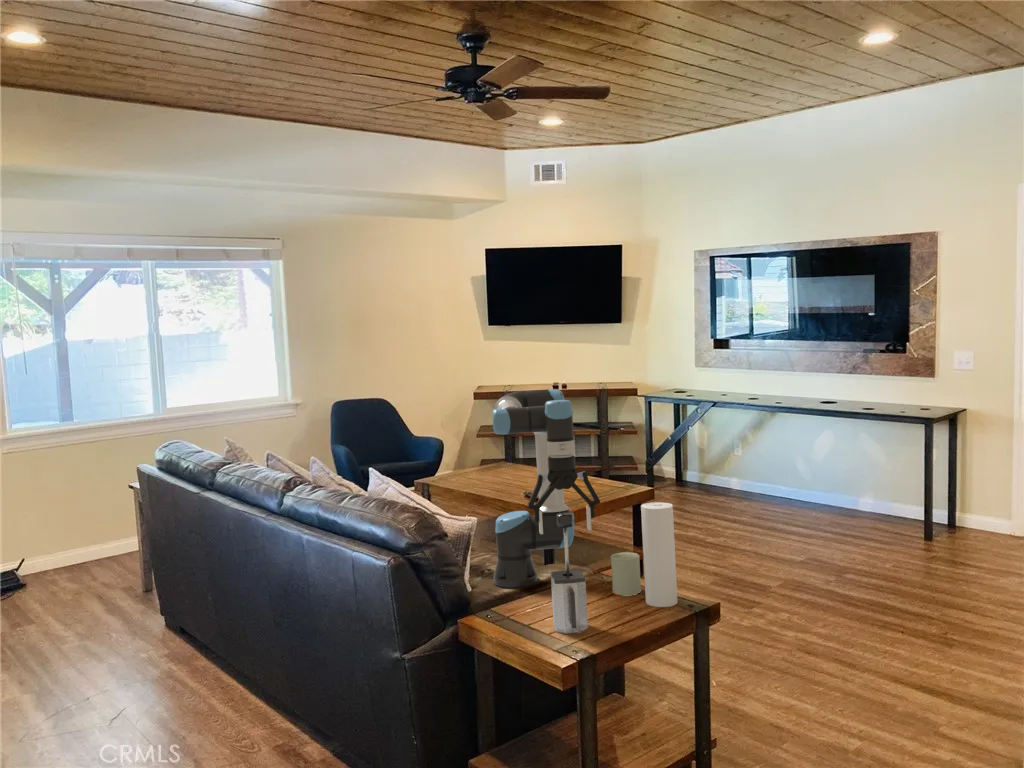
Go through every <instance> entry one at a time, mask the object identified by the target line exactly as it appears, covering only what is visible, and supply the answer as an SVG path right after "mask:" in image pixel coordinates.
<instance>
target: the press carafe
mask: <svg viewBox="0 0 1024 768" xmlns="http://www.w3.org/2000/svg"><path fill="white" fill-rule="evenodd" d="M569 573H570V576H566V570H556V571H551V572H550V574H551V578H550V583H551V585H550V586H551V602H552V606H551V607H552V620H553V621H552V622H553V630H554V632H557V633H560V634H563V635H573V634H575V635H576V634H581V633H583V632H586V630H588V629H589V625H588V624H589V623H588V606H587V605H588V604H587V603H588V601H587V585H586V577H585V576H584V574H583V571H582V570H581V569H569Z"/></svg>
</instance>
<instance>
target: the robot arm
mask: <svg viewBox="0 0 1024 768" xmlns="http://www.w3.org/2000/svg"><path fill="white" fill-rule="evenodd" d="M572 404H573V403H572V402H571V400H569V399H565V396H564V393H563V391H561V390H560V389H555V388H554V389H553V388H552V389H551V388H550V389H549V388H547V389H536V390H534V389H533V390H517V391H514V392H513V391H512V392H510V393H507V394H505V395H503V396H501V397H500V398H499V399H497V401H495V403H494V406H493V410H492V413H491V414H492V427H493V428H492V429H493V433H494V435H495V434H496V435H505V436H506V435H513V434H526V433H528V434H529V433H533V434H534V438H535V439H534V442H535V455H536V456H535V457H536V474H537V477H536V478H537V479H536V480H537V481H536V484H535V485H534V489H533V490H532V493H531V495H530V498H529V500H528V502H527V508H528V509H529V510H533V511H534V512H533V513H534V515H532V514H530V512H529V511H527V510H514V511H510V512H506V513H504V514H503V513H502V514H501V515H500V516H498V517H497V518H496V520H495V537H496V538H495V539H496V555H497V560H496V564H495V569H494V572H493V584H494V585H496V586H497V587H500V588H501V587H502V588H508V589H510V588H515V589H516V588H517V589H518V588H525V587H528V586H532V585H535V584H536V583H537V582H538V580H539V576H538V571H537V569H536V566H535V564H534V560H533V558H532V551H535V550H536V551H537V550H550V549H557V550H559V549H565V548H564V530H563V528H561V527H557V514H559V513H572V517H573V526H572V527H567V537H568V548H569V547H571V546H572V543H573V541H574V535H575V515H574V512H571V511H570V508H569V506H568V505H567V504H566V503H565V492H564V490H570V489H571V488H573V489H574V491H576V493H577V494H579V496H580V497H581V498H582V499H583V500H584V501H585V503H587V504H588V505H586V506H585V509H586V511H585V513H586V514H585V515H586V528H587V529H586V530H588V531H589V532H590V531H592V519H595V507H596V505H600V504H601V500H600V498H599V496H598V494H597V493H596V491H595V489H594V488H593V486H592V484H591V482H590V481H589V478H588V473H587V472H586V471H585V470H582V471H581V472H577V471H576V456H574V454H575V439H574V422H573V421H574V420H573V418H574V417H573V414H574V411H573V405H572ZM578 478H579V479H580V480H581V481H583V483H584V484H585V487H586V488H587V490H588V492H589V493H590V495H591V497H592V498H593V500H592V499H590V498H589V497H588V495H586V493H584V491H583V490H582V489H581V488H580V487H579V486H578V485H577V484H576V480H577V479H578ZM537 498H538V500H537ZM536 500H537V502H536ZM535 502H536V503H535Z"/></svg>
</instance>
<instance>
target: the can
mask: <svg viewBox="0 0 1024 768" xmlns="http://www.w3.org/2000/svg"><path fill="white" fill-rule="evenodd" d="M640 556H641V555H639V554H638V553H636V552H629V551H625V552H616V553H613V554H611V555H610V561H611V563H610V564H611V565H610V566H611V577H612V578H611V581H612V583H611V585H612V590H613V592H614V593H615V594H619V595H633V594H638V593H640V592H641V591H642V584H641V567H640V566H641V565H640V564H641V563H640ZM613 592H612V593H613ZM641 593H642V592H641ZM641 593H640V594H641ZM615 594H614V595H615ZM638 595H639V594H638Z"/></svg>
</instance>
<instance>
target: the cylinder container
mask: <svg viewBox="0 0 1024 768" xmlns="http://www.w3.org/2000/svg"><path fill="white" fill-rule="evenodd" d="M640 511H641V513H640V514H641V515H640V516H641V533H642V552H643V553H642V554H643V571H644V573H643V574H644V594H645V603H646V604H647V606H650V607H655V608H656V607H657V608H668V607H673V606H675V605H677V604H678V586H677V585H678V584H677V567H676V547H675V545H676V544H675V529H674V527H675V526H674V505H673V504H672V503H670V502H660V501H659V502H658V501H656V502H647V503H642V504H641V505H640Z"/></svg>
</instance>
